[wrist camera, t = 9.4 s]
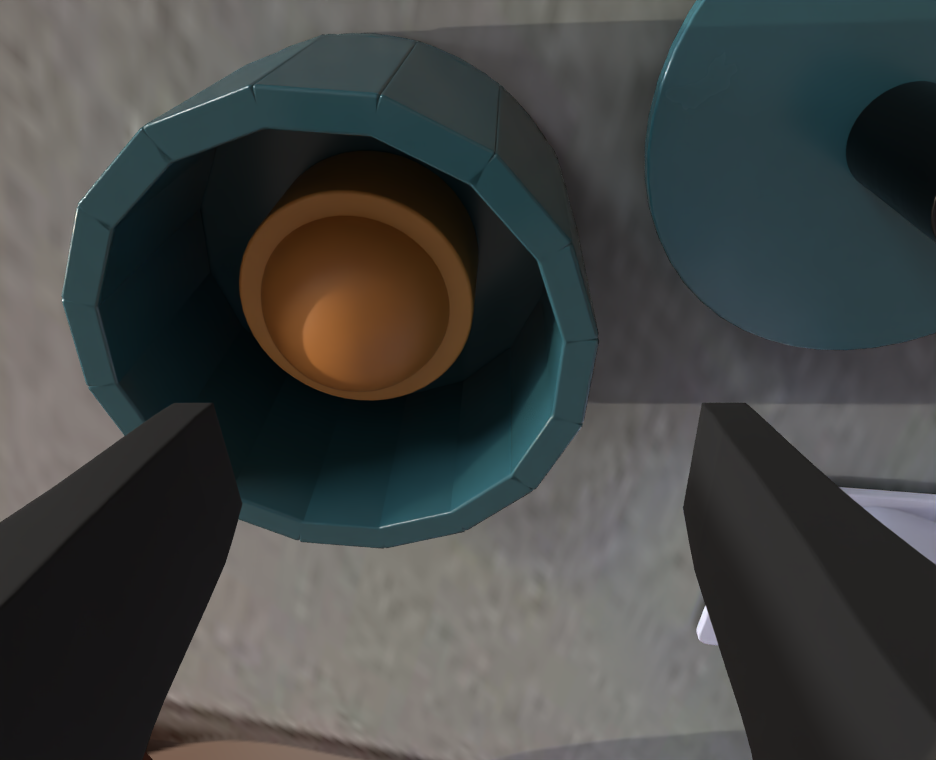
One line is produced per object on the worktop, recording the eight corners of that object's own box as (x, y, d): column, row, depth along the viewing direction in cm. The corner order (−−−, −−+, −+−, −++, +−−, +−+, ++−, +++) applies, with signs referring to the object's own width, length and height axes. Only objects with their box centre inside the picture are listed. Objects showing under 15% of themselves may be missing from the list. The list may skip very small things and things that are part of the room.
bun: (485, 158, 17) (478, 233, 13) (472, 348, 20) (462, 456, 16) (264, 141, 17) (190, 211, 13) (283, 333, 20) (227, 438, 16)
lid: (1284, -154, 14) (1635, -181, 9) (1004, 345, 20) (1138, 464, 16) (701, -195, 14) (787, -240, 9) (605, 315, 20) (630, 425, 16)
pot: (602, 49, 16) (642, 112, 11) (547, 414, 22) (558, 562, 17) (149, 16, 16) (-10, 64, 11) (214, 388, 22) (127, 529, 17)
